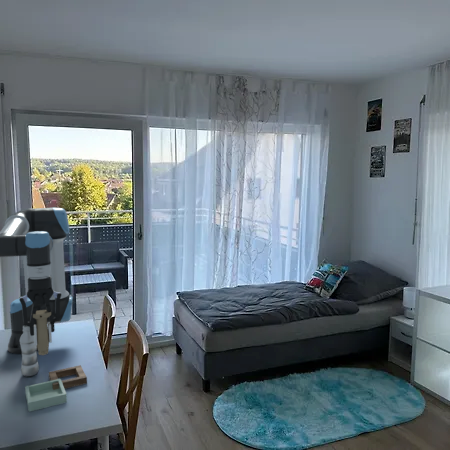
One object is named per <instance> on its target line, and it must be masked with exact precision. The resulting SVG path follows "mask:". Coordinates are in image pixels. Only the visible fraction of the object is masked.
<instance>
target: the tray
mask: <svg viewBox="0 0 450 450" xmlns="http://www.w3.org/2000/svg"><path fill="white" fill-rule="evenodd" d="M62 381H63V380H62V379H61V378H58V379H57V380H52V381H50V380H48V381H44V382H39V383H36V384H31V385H25V387H24V388H25V390H24V391H25V398H26V404H27V410H28V412H29V413H30V412H34V411H38V410H42V409H46V408H49V407H54V406H58V405H62V404H65V403H67V402H68V401H67V400H68V399H67V398H68V397H67V396H68V395H67V391H66V389H64V386H63V384H62ZM56 382H58V383H59V389H55V390H53V385H52V383H56Z"/></svg>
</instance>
